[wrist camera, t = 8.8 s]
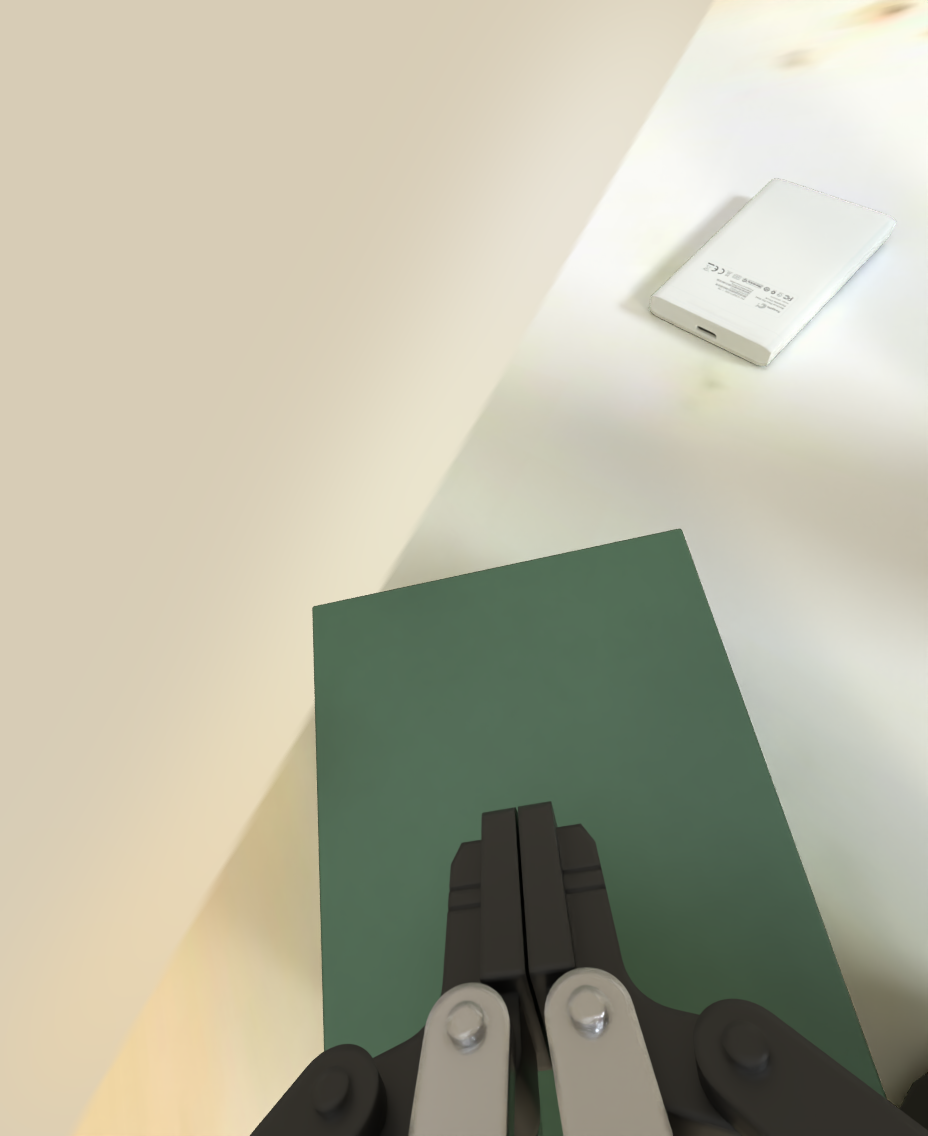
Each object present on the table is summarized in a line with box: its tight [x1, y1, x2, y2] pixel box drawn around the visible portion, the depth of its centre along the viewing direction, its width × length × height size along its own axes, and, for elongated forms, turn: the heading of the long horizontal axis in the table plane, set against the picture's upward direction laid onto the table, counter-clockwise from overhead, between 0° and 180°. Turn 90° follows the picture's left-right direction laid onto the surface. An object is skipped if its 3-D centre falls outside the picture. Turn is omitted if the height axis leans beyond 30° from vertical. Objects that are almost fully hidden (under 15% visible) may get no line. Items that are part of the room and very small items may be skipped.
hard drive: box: [649, 179, 896, 366], centre depth 36 cm, size 2×8×12 cm
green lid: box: [313, 529, 887, 1136], centre depth 18 cm, size 16×14×1 cm
